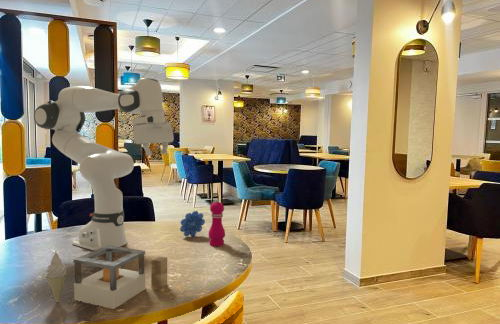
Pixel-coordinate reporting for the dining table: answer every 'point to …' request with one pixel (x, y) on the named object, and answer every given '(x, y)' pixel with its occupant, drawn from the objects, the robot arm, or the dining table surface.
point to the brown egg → (107, 274)
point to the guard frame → (108, 262)
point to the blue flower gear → (192, 223)
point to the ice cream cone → (56, 276)
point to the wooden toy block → (159, 272)
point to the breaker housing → (100, 292)
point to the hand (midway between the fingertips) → (156, 154)
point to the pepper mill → (216, 224)
